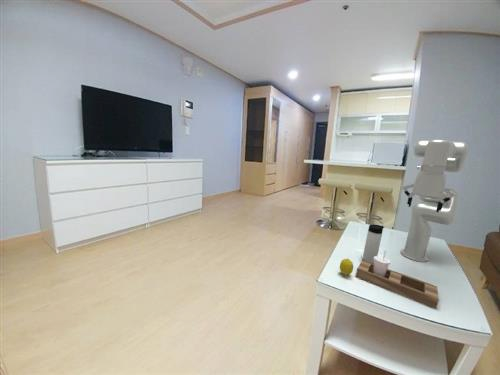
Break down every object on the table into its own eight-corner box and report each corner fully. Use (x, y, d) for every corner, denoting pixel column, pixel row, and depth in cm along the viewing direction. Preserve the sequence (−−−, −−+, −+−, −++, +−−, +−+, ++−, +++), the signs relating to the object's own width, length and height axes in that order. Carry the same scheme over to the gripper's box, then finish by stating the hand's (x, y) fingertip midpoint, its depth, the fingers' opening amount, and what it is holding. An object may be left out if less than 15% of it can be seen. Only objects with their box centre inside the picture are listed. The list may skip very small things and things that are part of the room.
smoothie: (386, 285, 92) (392, 255, 89) (369, 279, 95) (375, 250, 93) (386, 278, 97) (392, 250, 95) (370, 273, 100) (375, 245, 98)
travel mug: (378, 265, 108) (386, 228, 104) (364, 263, 109) (371, 226, 105) (373, 259, 114) (381, 224, 110) (360, 257, 115) (367, 222, 111)
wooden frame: (360, 267, 105) (362, 259, 104) (434, 294, 88) (437, 286, 87) (355, 276, 97) (357, 268, 96) (436, 309, 80) (438, 299, 79)
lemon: (336, 271, 100) (339, 255, 98) (347, 271, 100) (350, 255, 99) (342, 278, 94) (345, 261, 93) (354, 278, 95) (357, 262, 93)
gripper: (406, 167, 92) (398, 205, 96) (461, 173, 82) (450, 215, 85) (407, 167, 98) (399, 203, 101) (459, 172, 88) (448, 212, 91)
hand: (422, 208), depth 93 cm, fingers open, 9 cm apart
